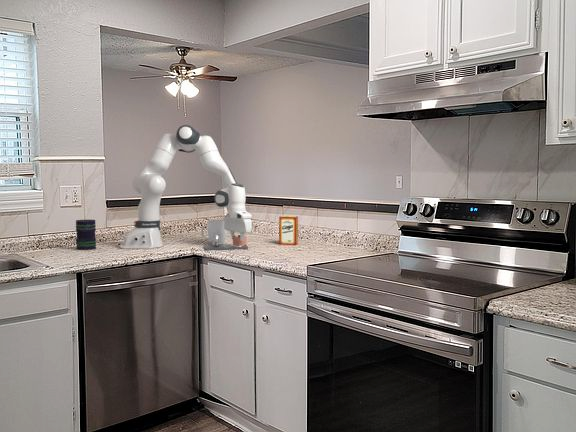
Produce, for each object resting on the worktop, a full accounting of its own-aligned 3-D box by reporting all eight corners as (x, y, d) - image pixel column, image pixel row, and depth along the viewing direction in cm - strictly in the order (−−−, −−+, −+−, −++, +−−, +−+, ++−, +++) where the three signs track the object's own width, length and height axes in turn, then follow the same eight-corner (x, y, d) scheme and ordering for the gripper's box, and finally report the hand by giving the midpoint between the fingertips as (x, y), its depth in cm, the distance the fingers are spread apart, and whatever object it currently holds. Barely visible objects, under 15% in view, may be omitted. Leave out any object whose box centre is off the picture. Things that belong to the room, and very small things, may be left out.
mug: (198, 244, 313) (198, 221, 311) (204, 242, 323) (204, 219, 322) (224, 245, 310) (224, 221, 309) (229, 242, 321) (229, 219, 320)
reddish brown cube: (232, 244, 301) (232, 235, 301) (240, 243, 305) (239, 234, 305) (239, 245, 298) (239, 236, 297) (246, 244, 302) (246, 235, 301)
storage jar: (89, 250, 289) (89, 221, 288) (72, 249, 291) (71, 221, 290) (99, 247, 299) (99, 219, 298) (83, 247, 301) (82, 219, 300)
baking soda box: (298, 243, 318) (298, 215, 317) (296, 245, 312) (296, 216, 311) (281, 243, 320) (281, 215, 319) (279, 244, 314) (279, 216, 312)
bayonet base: (205, 250, 291) (205, 236, 290) (204, 247, 303) (204, 233, 302) (248, 249, 295) (248, 235, 295) (245, 246, 307) (245, 233, 307)
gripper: (221, 213, 305) (221, 238, 306) (244, 215, 289) (244, 242, 291) (230, 212, 309) (230, 237, 310) (253, 215, 294) (253, 241, 295)
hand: (237, 240), depth 300 cm, fingers closed on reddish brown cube, 5 cm apart
